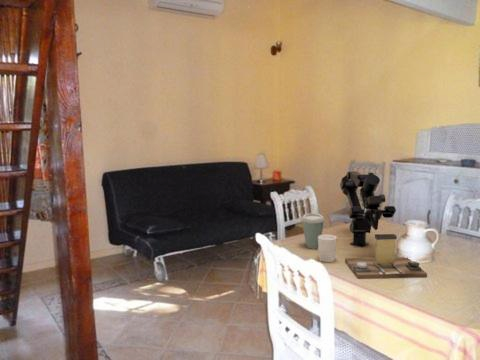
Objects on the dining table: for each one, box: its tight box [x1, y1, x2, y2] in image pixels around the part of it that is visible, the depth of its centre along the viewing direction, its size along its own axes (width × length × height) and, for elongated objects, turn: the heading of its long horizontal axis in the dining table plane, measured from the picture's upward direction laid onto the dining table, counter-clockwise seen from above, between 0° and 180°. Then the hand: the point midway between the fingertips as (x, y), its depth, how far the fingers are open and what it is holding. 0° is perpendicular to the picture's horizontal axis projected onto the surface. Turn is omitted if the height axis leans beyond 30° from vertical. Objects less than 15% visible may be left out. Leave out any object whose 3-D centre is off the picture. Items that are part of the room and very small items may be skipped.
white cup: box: [317, 234, 338, 263], centre depth 170 cm, size 8×8×10 cm
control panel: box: [344, 256, 428, 280], centre depth 158 cm, size 18×26×2 cm
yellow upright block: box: [374, 233, 398, 268], centre depth 156 cm, size 4×8×13 cm, turn 90°
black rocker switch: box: [408, 261, 420, 267], centre depth 154 cm, size 4×3×1 cm
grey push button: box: [357, 262, 367, 269], centre depth 154 cm, size 4×4×1 cm
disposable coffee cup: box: [301, 212, 325, 249], centre depth 188 cm, size 11×11×15 cm
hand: (376, 229), depth 166 cm, fingers closed
